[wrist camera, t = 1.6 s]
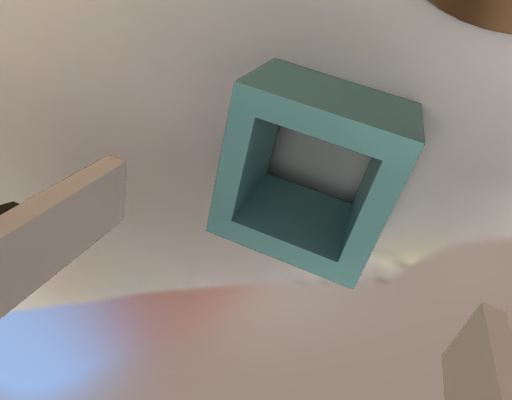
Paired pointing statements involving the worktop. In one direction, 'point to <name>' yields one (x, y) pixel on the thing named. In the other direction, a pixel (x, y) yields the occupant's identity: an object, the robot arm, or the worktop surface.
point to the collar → (299, 197)
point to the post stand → (480, 12)
